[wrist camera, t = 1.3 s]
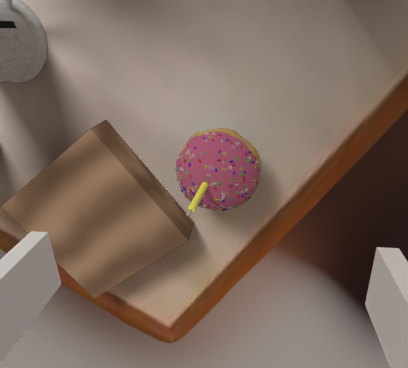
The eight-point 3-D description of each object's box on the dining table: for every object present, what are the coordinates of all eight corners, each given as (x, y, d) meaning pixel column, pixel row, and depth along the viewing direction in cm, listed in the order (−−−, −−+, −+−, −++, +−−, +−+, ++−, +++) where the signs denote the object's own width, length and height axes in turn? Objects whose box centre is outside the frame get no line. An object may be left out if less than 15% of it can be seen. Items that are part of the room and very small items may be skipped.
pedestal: (21, 192, 44) (0, 207, 41) (106, 119, 39) (90, 128, 35) (106, 278, 48) (94, 298, 45) (194, 222, 43) (188, 240, 39)
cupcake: (210, 202, 41) (194, 263, 30) (169, 144, 39) (135, 188, 28) (274, 167, 38) (281, 221, 28) (233, 102, 36) (224, 133, 25)
